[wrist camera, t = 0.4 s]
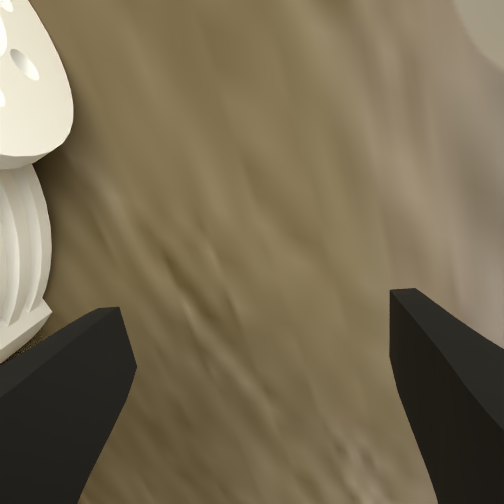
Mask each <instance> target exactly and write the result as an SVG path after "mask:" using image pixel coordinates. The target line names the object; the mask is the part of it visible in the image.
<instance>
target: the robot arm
mask: <svg viewBox="0 0 504 504" xmlns="http://www.w3.org/2000/svg"><path fill="white" fill-rule="evenodd" d="M389 356H390V361H391V365H392V369H393V374H394V378H395V382H396V386H397V390H398V393H399V396H400V399H401V401H402V404H403V407H404V410H405V412H406V415H407V418H408V420H409V423H410V426H411V428H412V431H413V433H414V436H415V439H416V441H417V444H418V447H419V449H420V452H421V455H422V457H423V460H424V462H425V465H426V468H427V470H428V473H429V476H430V479H431V482H432V485H433V488H434V491H435V494H436V497H437V500H438V504H504V349H503V348H501V347H499V346H498V345H496V344H494V343H493V342H491V341H490V340H488V339H486V338H485V337H483V336H482V335H480V334H479V333H477V332H476V331H474V330H473V329H471V328H470V327H468V326H467V325H465V324H464V323H463V322H461V321H460V320H458V319H457V318H455V317H454V316H453V315H451V314H450V313H449V312H447V311H446V310H444V309H443V308H442V307H440V306H439V305H438V304H436V303H435V302H434V301H432V300H431V299H430V298H428V297H427V296H426V295H424V294H423V293H422V292H420V291H419V290H417V289H416V288H410V289H394V290H390V352H389ZM136 368H137V365H136V361H135V358H134V355H133V351H132V348H131V345H130V341H129V338H128V335H127V331H126V328H125V325H124V321H123V318H122V315H121V311H120V308H119V307H109V308H98V309H96V310H94V311H91V312H90V313H88V314H86V315H84V316H82V317H80V318H79V319H77V320H75V321H74V322H72V323H70V324H69V325H67V326H66V327H64V328H62V329H61V330H59V331H57V332H56V333H54V334H53V335H51V336H49V337H48V338H46V339H45V340H43V341H41V342H40V343H38V344H36V345H35V346H33V347H32V348H30V349H28V350H27V351H25V352H23V353H21V354H20V355H18V356H16V357H15V358H13V359H11V360H9V361H8V362H6V363H4V364H3V365H1V366H0V504H77V503H78V500H79V498H80V495H81V493H82V491H83V488H84V486H85V484H86V482H87V479H88V477H89V475H90V473H91V471H92V469H93V467H94V465H95V463H96V461H97V459H98V457H99V455H100V453H101V451H102V449H103V447H104V445H105V443H106V441H107V439H108V437H109V435H110V433H111V431H112V429H113V427H114V425H115V422H116V420H117V418H118V416H119V414H120V412H121V410H122V408H123V406H124V404H125V401H126V399H127V396H128V394H129V391H130V388H131V385H132V382H133V378H134V375H135V372H136Z"/></svg>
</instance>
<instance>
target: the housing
mask: <svg viewBox="0 0 504 504" xmlns="http://www.w3.org/2000/svg"><path fill="white" fill-rule="evenodd" d="M72 123H73V101H72V95H71V89H70V86H69V82H68V79H67V76H66V72H65V70H64V68H63V65H62V63H61V60H60V58H59V55H58V53H57V51H56V49H55V47H54V45H53V43H52V41H51V39H50V37H49V35H48V33H47V31H46V30H45V28H44V26H43V24H42V23H41V21H40V19H39V17H38V16H37V14H36V12H35V11H34V9H33V8H32V6H31V5H30V3H29V1H28V0H0V363H2V362H3V361H4V360H6V359H7V358H8V357H9V356H11V355H12V354H13V353H15V352H16V351H17V350H18V349H20V348H21V347H22V346H23V345H25V344H26V343H27V342H28V341H29V340H30V339H32V338H33V337H34V336H35V334H36V333H37V332H38V331H39V330H40V329H41V328H42V326H43V325H44V324H45V322H46V321H47V319H48V318H49V316H50V315H51V313H52V311H51V309H50V308H49V307H48V305H47V304H46V302H45V301H44V300H43V298H42V297H43V295H44V292H45V289H46V286H47V281H48V277H49V272H50V265H51V252H52V244H51V226H50V221H49V216H48V210H47V205H46V201H45V198H44V195H43V192H42V188H41V185H40V182H39V179H38V177H37V175H36V172H35V170H34V168H33V166H32V163H35V162H36V161H38V160H39V159H41V158H42V157H44V156H45V155H47V154H48V153H50V152H51V151H52V150H54V149H55V148H57V147H58V146H59V145H61V144H62V143H63V142H64V141H65V139H66V138H67V136H68V135H69V133H70V130H71V126H72Z"/></svg>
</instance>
